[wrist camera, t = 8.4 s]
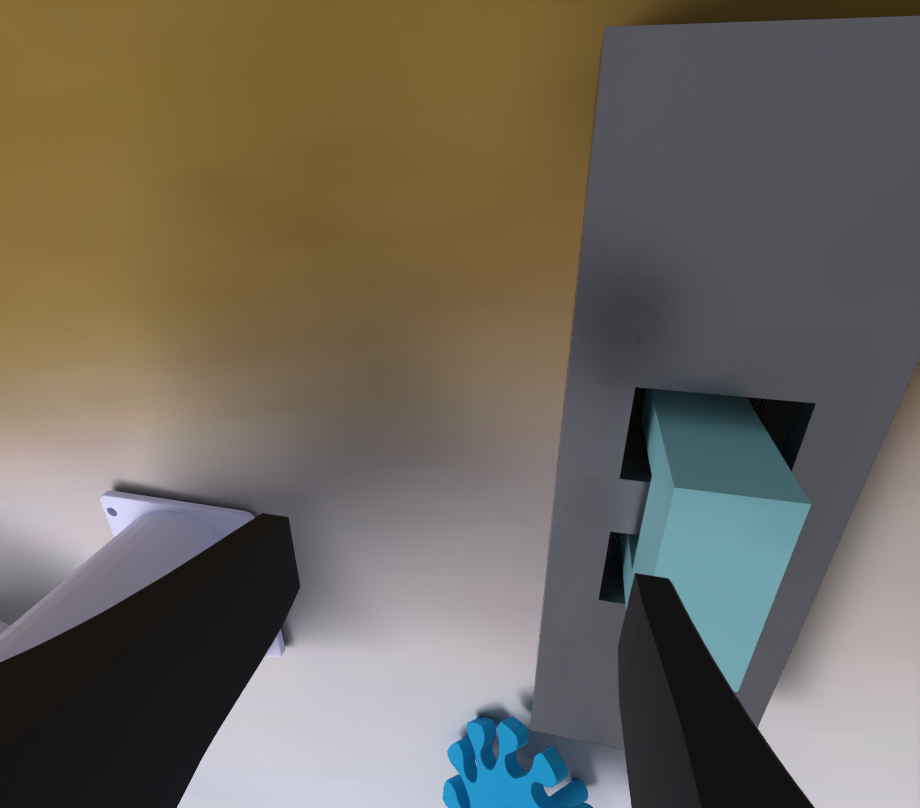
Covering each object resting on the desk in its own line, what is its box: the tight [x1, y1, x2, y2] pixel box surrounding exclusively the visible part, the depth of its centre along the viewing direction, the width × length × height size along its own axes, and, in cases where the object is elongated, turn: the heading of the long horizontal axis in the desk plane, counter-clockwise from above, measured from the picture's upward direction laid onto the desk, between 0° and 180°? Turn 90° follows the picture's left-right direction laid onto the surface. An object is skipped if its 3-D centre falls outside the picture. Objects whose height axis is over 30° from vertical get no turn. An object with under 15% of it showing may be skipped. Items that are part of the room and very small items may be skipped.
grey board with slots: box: [530, 16, 920, 750], centre depth 17 cm, size 24×8×3 cm, turn 0°
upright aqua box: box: [620, 388, 811, 692], centre depth 16 cm, size 6×3×6 cm, turn 0°
